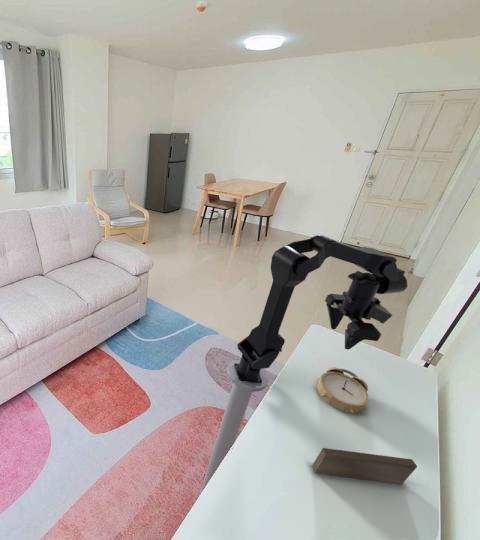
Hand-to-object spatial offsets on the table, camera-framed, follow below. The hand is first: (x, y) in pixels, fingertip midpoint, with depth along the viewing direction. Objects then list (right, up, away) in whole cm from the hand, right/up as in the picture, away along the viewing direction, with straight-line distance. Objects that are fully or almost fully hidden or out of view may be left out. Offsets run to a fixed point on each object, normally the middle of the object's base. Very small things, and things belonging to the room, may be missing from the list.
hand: (339, 338), depth 87 cm
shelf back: (-13, -25, -23) cm, 36 cm away
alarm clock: (-2, -15, -2) cm, 16 cm away
